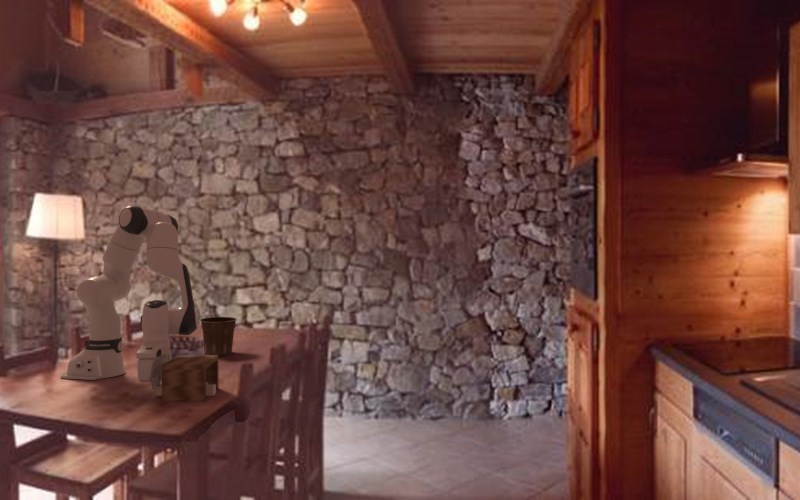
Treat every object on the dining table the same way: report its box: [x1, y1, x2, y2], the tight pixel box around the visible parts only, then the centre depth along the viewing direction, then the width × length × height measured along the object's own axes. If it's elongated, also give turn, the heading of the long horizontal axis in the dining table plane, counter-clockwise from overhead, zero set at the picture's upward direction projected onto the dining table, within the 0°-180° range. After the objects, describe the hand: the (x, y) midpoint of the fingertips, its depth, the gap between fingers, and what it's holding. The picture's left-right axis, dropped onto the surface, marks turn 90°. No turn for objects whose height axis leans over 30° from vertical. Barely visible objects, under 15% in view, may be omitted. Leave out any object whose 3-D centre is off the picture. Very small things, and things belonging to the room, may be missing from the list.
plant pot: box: [199, 316, 238, 357], centre depth 263 cm, size 16×16×16 cm
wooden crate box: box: [161, 354, 220, 402], centre depth 196 cm, size 14×16×12 cm
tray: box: [156, 382, 217, 397], centre depth 196 cm, size 19×8×7 cm, turn 91°
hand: (156, 388), depth 195 cm, fingers closed, pressing on tray
